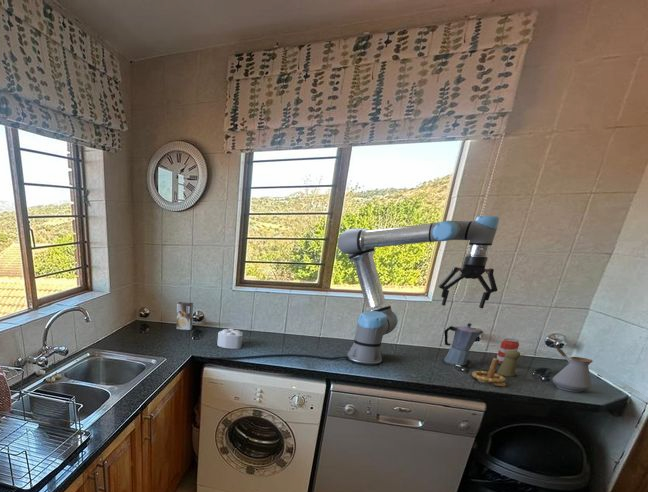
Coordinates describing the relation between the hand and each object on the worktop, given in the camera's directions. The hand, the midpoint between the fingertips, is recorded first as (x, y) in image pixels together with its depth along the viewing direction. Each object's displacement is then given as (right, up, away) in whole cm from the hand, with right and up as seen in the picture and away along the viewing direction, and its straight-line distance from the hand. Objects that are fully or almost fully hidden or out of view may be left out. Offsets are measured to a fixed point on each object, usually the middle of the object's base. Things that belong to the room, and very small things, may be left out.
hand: (461, 306), depth 175 cm
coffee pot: (+39, -34, -4) cm, 52 cm away
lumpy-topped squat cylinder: (-92, -14, +44) cm, 103 cm away
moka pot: (+11, -25, +19) cm, 33 cm away
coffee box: (-114, -1, +77) cm, 138 cm away
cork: (+25, -30, +7) cm, 39 cm away
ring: (+10, -31, -2) cm, 32 cm away
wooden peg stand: (+10, -33, -2) cm, 34 cm away
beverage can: (+36, -25, +20) cm, 48 cm away
